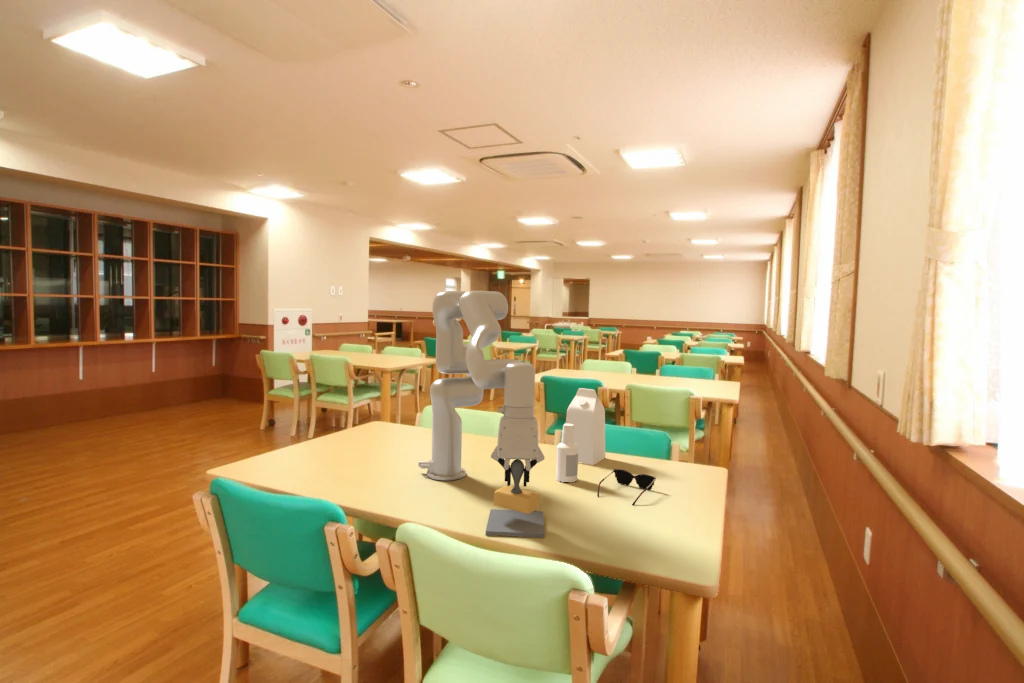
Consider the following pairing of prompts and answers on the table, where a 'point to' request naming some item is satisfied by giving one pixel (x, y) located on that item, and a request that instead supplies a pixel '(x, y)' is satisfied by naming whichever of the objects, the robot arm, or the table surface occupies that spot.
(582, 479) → the table surface
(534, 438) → the robot arm
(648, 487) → the sunglasses
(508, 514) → the mat
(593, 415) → the milk
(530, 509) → the rubber stamp
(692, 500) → the table surface
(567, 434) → the spray bottle
